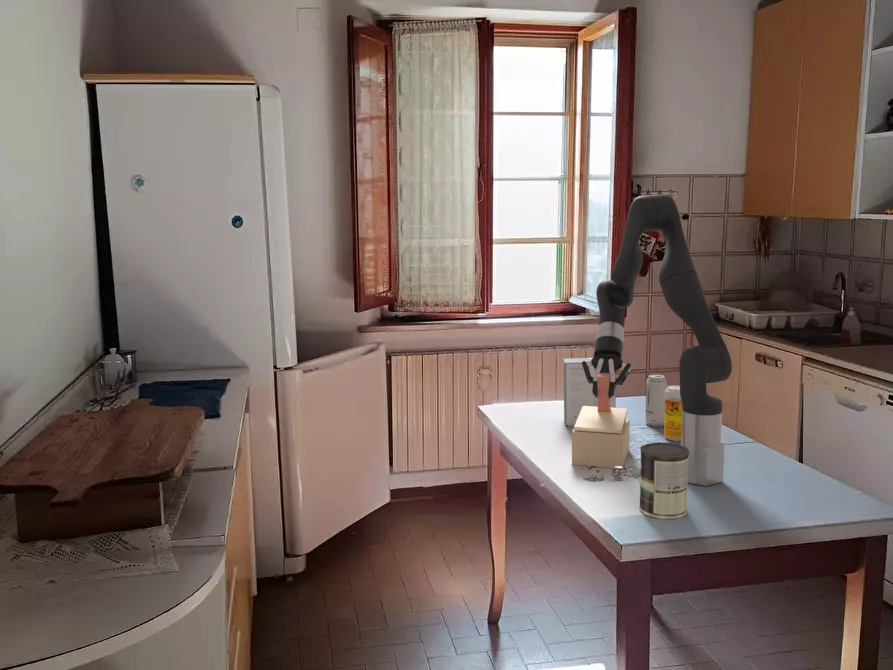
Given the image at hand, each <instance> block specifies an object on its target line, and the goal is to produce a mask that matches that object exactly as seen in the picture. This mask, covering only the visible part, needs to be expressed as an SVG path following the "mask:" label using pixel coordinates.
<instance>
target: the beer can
mask: <svg viewBox="0 0 893 670" xmlns="http://www.w3.org/2000/svg"><path fill="white" fill-rule="evenodd" d="M663 427H664V428H663V437H665V439H666V438H667V439H666V440H668V439H669V440H668V441H671V440H673V442H681V432H682V401H681V397H680V385H677V384H676V385H674V384H673V385H672V384H671V385H667V388H666V390H665V417H664V425H663Z"/></svg>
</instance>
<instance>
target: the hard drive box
mask: <svg viewBox="0 0 893 670" xmlns="http://www.w3.org/2000/svg"><path fill="white" fill-rule="evenodd" d="M592 358H593V357H580V358H578V357H577V358H575V357H573V358H571V357H570V358H563V422H564V426H565V425H568V426H567V427H574V426H575V423H576V421H577V419H578V416H579V414H580V412H581V409H582V407H583V406H595V407H598V397H595V396H594V395H593V393H592V388H593V384H592V383H588V381H587V378H586V375H585V373H584V370H583V366H582V362H583V361H586V362H589V361H591V359H592ZM589 371H590V374H591V377H594V376H595V371H596V370H595V368H594V367H593V366H591V369H590V370H589ZM616 373H617V372H616ZM616 373H615V379H616V378H617V376H616V375H617V374H616ZM610 382H611V379H610ZM616 387H617V385H616V386H615V394H614V396H612V398H610V407H611V408H617V407H616V398H617V397H616V395H617V394H616V392H617V389H616Z"/></svg>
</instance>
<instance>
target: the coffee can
mask: <svg viewBox="0 0 893 670" xmlns="http://www.w3.org/2000/svg"><path fill="white" fill-rule="evenodd" d="M688 456H689V450H688V449H687V448H686V447H684V446H681V444H678V443H672V442H649V443H646V444H643V445H641V446H640V477H639V479H640V481H639V483H640V485H639V488H640V489H639V511H640V512H641V513H642V514H643V515H646V516H648V517H650V518H654V519H660V520H675V519H681V518H683V517H685V516H687V513H688V510H687V509H688V508H687V507H688V487H689V486H688V484H689V483H688Z"/></svg>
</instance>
